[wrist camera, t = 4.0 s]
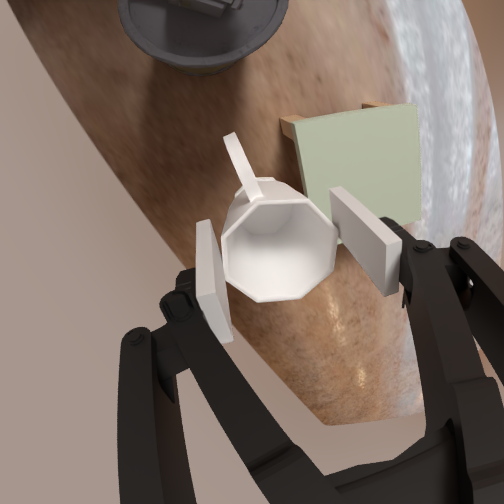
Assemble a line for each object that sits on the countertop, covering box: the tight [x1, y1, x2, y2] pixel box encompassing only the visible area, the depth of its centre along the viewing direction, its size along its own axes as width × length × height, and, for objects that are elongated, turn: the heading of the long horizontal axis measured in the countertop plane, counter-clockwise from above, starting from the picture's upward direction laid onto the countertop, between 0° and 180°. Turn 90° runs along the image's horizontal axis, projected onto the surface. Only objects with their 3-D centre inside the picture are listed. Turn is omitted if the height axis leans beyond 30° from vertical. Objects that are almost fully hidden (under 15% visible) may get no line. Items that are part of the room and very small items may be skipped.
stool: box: [280, 101, 421, 245], centre depth 34 cm, size 14×14×8 cm
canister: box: [118, 0, 289, 76], centre depth 20 cm, size 11×10×20 cm
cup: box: [221, 132, 339, 303], centre depth 20 cm, size 7×10×8 cm
